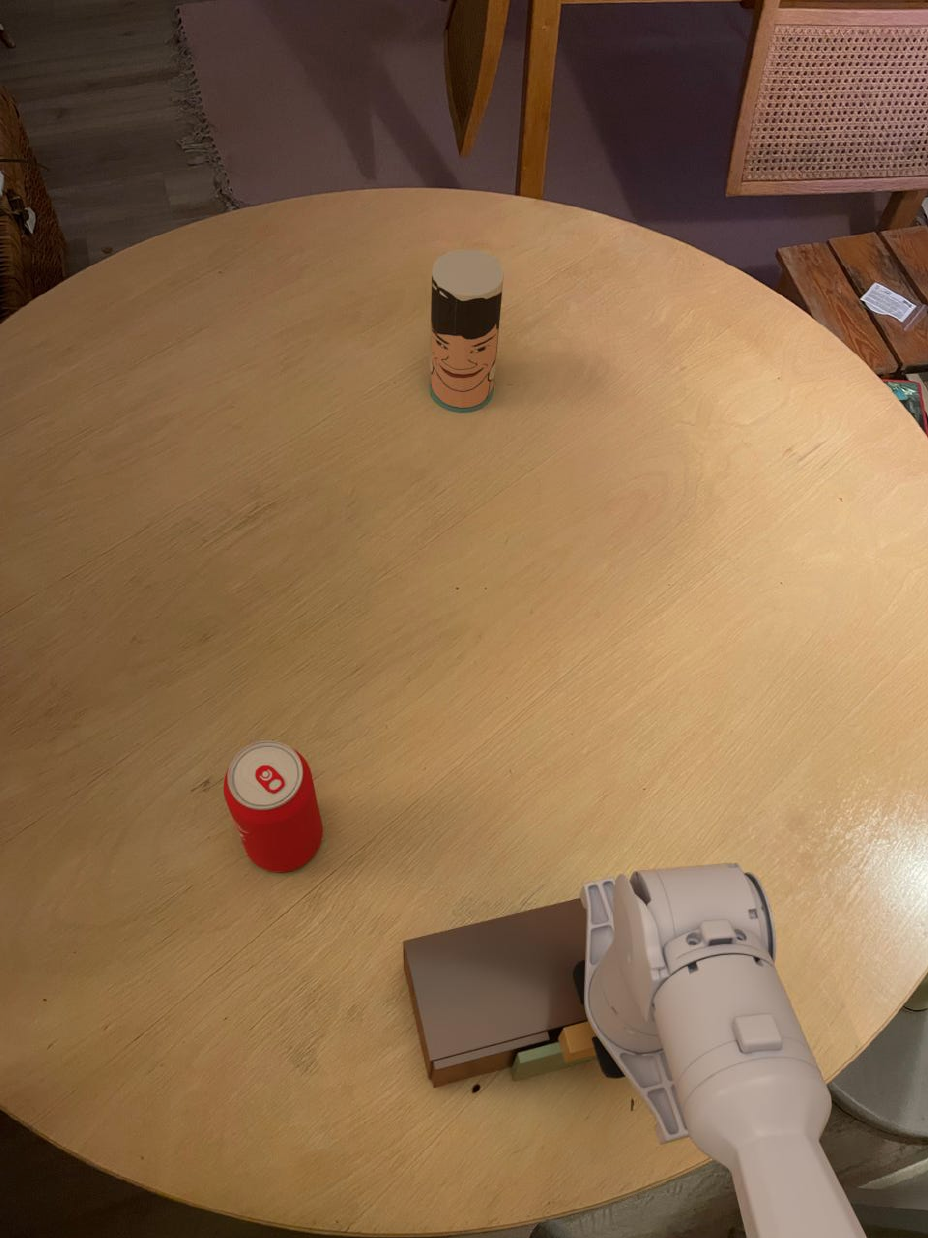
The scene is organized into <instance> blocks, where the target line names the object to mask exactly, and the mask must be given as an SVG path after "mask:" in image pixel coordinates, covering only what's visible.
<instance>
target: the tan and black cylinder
mask: <svg viewBox="0 0 928 1238" xmlns="http://www.w3.org/2000/svg"><path fill="white" fill-rule="evenodd" d="M504 276H505V273H504V268H503V266H502V264H501V263H500V262H499V261H498V259H496V258H495V257H494V256H492V255H491V254H490V253H487V252H484V251H481V250H477V249H470V248H464V249H456V250H451V251H449V252H446V253H444V254H443V255H441V256H439V257H438V258H437V260H436V261H434V262H433V265H432V269H431V301H430V302H431V307H430V355H429V357H430V358H429V360H430V361H429V393H430V397H431V398H432V399H433V401H434V402H435V403H436V404H437V405H439V407H441V408H443V409H445V410H448V411H449V412H454V413H455V412H456V413H471V412H475V411H477V410H478V411H479V410H480V409H482V408H484V407H485V406H486V405H488V404H489V402H490V401H491V400H492V398H493V393H494V389H495V388H494V387H495V377H496V376H495V375H496V365H497V353H498V344H499V332H500V321H501V310H502V300H503V288H504V278H505V277H504Z"/></svg>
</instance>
